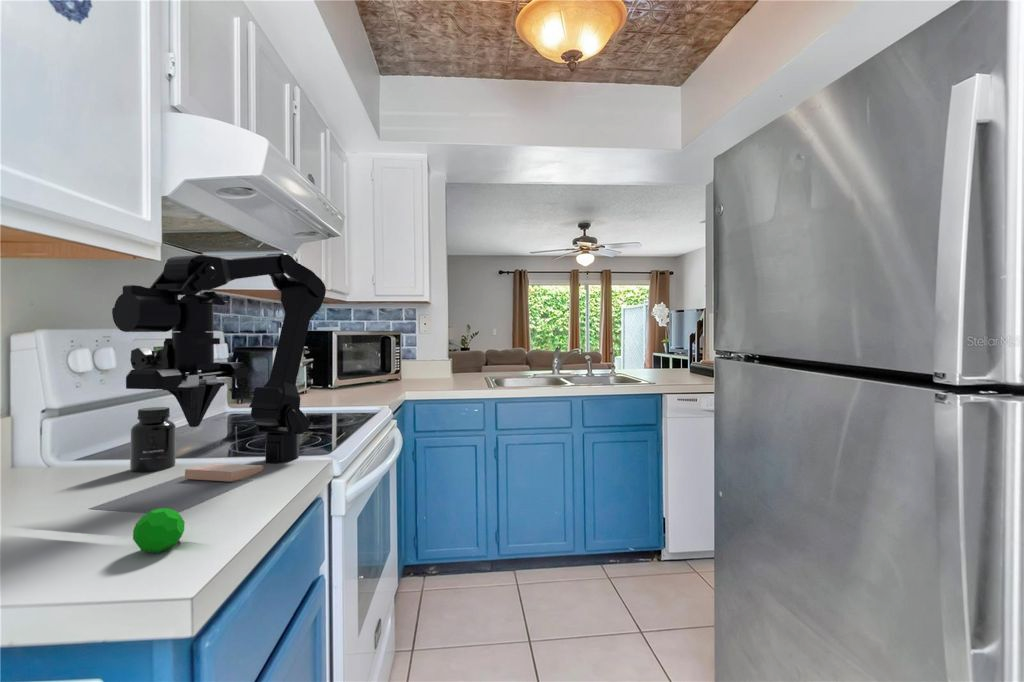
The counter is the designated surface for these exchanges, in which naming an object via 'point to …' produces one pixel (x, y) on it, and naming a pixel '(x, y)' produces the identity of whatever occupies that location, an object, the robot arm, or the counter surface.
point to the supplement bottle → (152, 441)
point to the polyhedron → (158, 530)
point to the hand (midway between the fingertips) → (194, 426)
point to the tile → (222, 472)
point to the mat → (171, 495)
